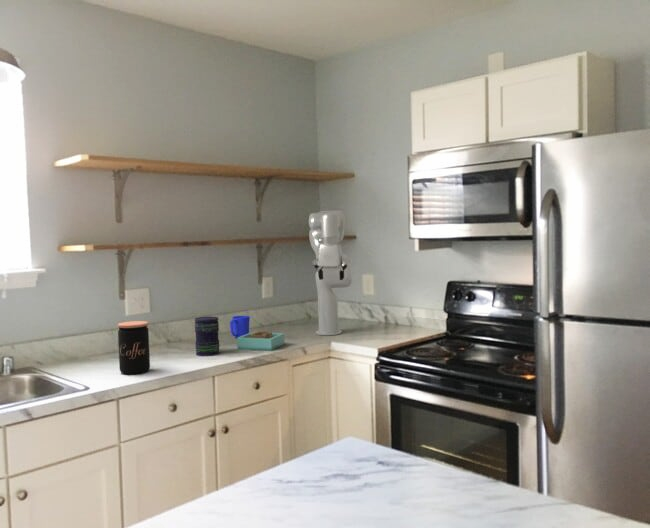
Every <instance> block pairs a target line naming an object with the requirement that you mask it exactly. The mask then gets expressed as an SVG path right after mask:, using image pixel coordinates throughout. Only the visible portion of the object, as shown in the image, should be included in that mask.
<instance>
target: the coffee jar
mask: <svg viewBox="0 0 650 528" xmlns="http://www.w3.org/2000/svg"><path fill="white" fill-rule="evenodd" d="M148 325H149V322H148V321H146V320H145V321H144V320H132V321H124V322H120V323H117V327H118V331H117V338H118V339H117V340H118V361H119V362H118V363H119V371H120V372H121V374H122V375H127V376H131V375H133V376H134V375H141V374H145V373H148V372H149V370H150V369H151V360H150V359H151V358H150V356H151V355H150V354H151V353H150V337H149V327H148Z"/></svg>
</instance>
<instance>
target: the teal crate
mask: <svg viewBox="0 0 650 528" xmlns="http://www.w3.org/2000/svg"><path fill="white" fill-rule="evenodd" d="M254 333H255V332H249V334H246V335H243V336H241V337H238V338H236V347H237V350H244V351H263V352H264V351H265V352H266V351H267V352H272V351H275V350H277V349H279V348H280V347H282V346H285V345H286V344H285V333H283V332H282V333H279V332H278V333H277V332H272V338H270V339H266V338H250V335H251V334H254Z"/></svg>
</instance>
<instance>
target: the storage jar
mask: <svg viewBox="0 0 650 528" xmlns="http://www.w3.org/2000/svg"><path fill="white" fill-rule="evenodd" d="M219 327H220V324H219V317H217V316H202V317H201V316H199V317H195V318H194V332H195V351H196V352H195V356H197V357H211V356H212V357H213V356H217V355H220V354H221V353H220V346H221V345H220V340H219V332H220V331H219V330H220V328H219Z"/></svg>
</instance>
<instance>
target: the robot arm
mask: <svg viewBox="0 0 650 528" xmlns="http://www.w3.org/2000/svg"><path fill="white" fill-rule="evenodd" d="M345 219H346V218H345V215H344V213H343V211H341V210H321V211H319V212H312V213H310V214H309V217H308V226H309V228H310V230H309V234H308V235H309V236H308V238H309V243H310V246H311V248H312V250H313V252H314V253H315V258H316V259H314V260H312V261H311V263H312V264H313V267H314V269H316V270H317V271H316V272H315V275H314V276H315V284H316V291H317V313H318V329H317V330H316V331H315V335H317V336H335V335H337V336H338V335H341V334H342V330H341V329H339V306H338V305H339V303H338V302H339V301H338V295H337V294H336V293H335V291H334V290H333V289H335V288H336V289H338V288H339V289H340V288H343V289H344V288H348V287H350V286H351V284H353V283H352V282H353V278H352V277H353V276H352V271H351V270H352V269H351V265H350V260H349V257H348V255H346V254H345V253H342V252H343V251H342V245H341V244H340V242H342V241H343V240H344V236H345V235H344V234H345V225H346V224H345V223H346V220H345Z"/></svg>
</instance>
